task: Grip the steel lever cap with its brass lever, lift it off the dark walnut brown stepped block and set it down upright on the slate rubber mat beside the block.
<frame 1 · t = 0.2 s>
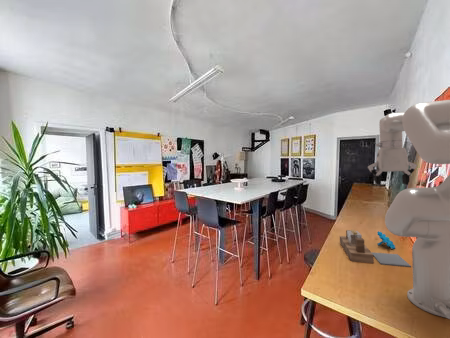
hand: (391, 184, 87), 36 cm above the table, tool pointing down, fingers open, 9 cm apart
brown stepped block: (354, 251, 103), on the table
mat: (389, 259, 93), on the table
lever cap: (354, 244, 103), point 4 cm above the table, touching brown stepped block
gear: (386, 246, 107), on the table
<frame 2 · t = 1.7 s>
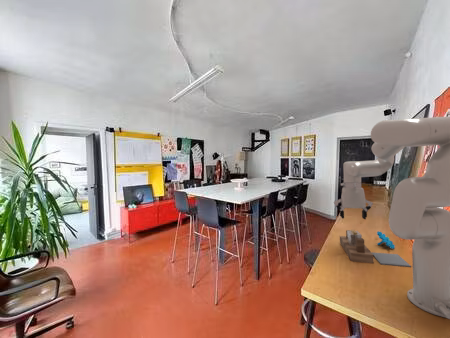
hand: (353, 218, 103), 17 cm above the table, tool pointing down, fingers open, 9 cm apart
nothing on the table moved.
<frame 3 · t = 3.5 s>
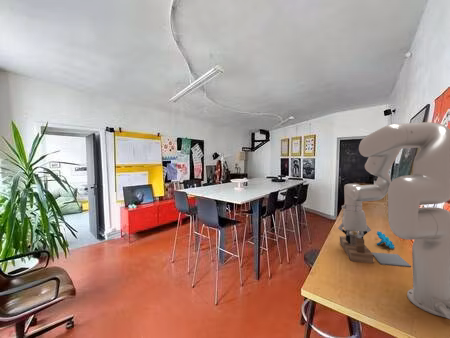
hand: (354, 242, 103), 5 cm above the table, tool pointing down, fingers closed on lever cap, 4 cm apart
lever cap: (354, 244, 103), point 4 cm above the table, touching gripper, brown stepped block
everything else where it was.
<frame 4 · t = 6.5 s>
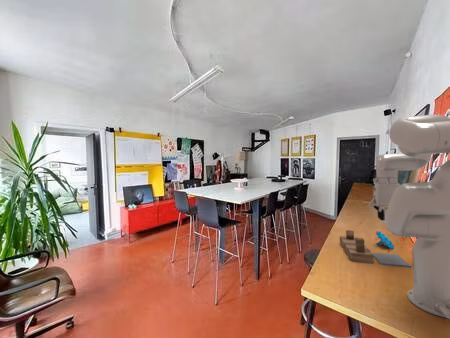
hand: (388, 219, 93), 19 cm above the table, tool pointing down, fingers closed on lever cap, 4 cm apart
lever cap: (388, 221, 93), point 18 cm above the table, touching gripper
everything else where it was.
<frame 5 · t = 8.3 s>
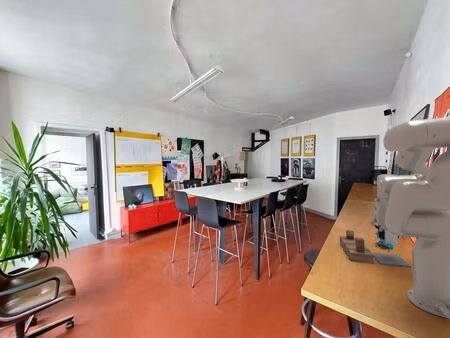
hand: (388, 238, 93), 10 cm above the table, tool pointing down, fingers closed on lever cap, 4 cm apart
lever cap: (388, 240, 93), point 9 cm above the table, touching gripper
everything else where it was.
when the fingers open (3 cm above the table, at t = 10.0 s): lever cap drops 1 cm, resting on mat.
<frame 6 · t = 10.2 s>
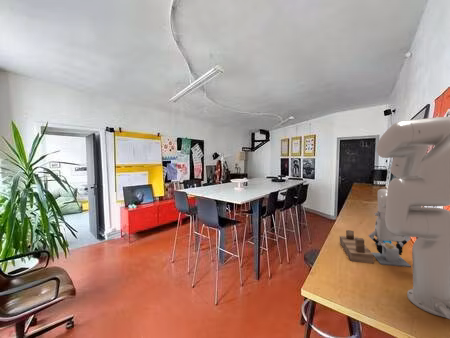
hand: (389, 252, 93), 3 cm above the table, tool pointing down, fingers open, 6 cm apart
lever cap: (389, 258, 93), point 1 cm above the table, touching mat
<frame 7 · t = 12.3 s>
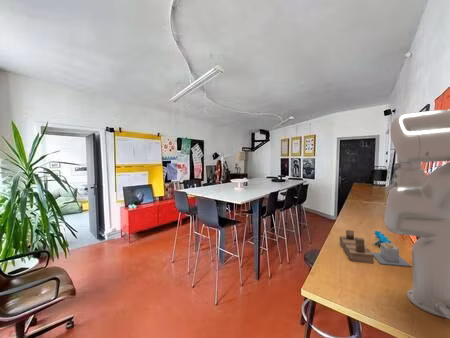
hand: (410, 206, 86), 27 cm above the table, tool pointing down, fingers open, 9 cm apart
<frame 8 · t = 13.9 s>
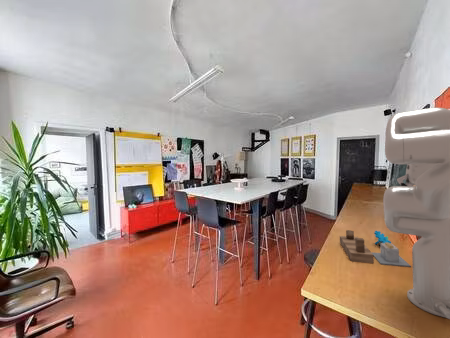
hand: (422, 198, 83), 30 cm above the table, tool pointing down, fingers open, 9 cm apart
at the end: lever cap inside the target area on the mat (0.0 cm from its centre), point 0.6 cm above the mat's base; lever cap tilted 0°; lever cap touching mat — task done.
